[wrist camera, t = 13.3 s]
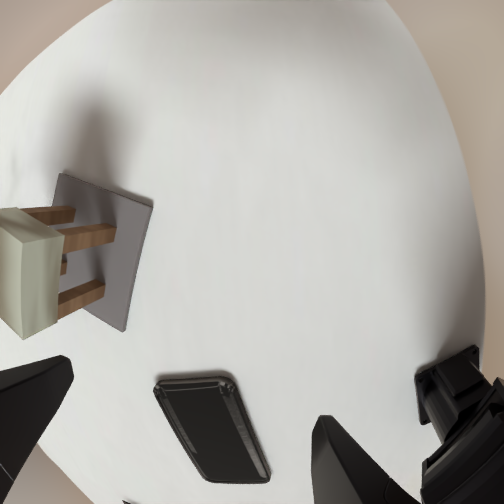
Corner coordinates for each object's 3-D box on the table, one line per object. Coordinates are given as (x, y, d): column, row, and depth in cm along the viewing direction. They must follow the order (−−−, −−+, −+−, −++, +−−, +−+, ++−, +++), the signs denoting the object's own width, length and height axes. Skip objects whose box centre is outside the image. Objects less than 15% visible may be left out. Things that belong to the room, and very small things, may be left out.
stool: (118, 227, 20) (22, 243, 11) (104, 298, 22) (23, 340, 12) (67, 204, 21) (-19, 210, 12) (57, 269, 22) (-20, 294, 13)
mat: (153, 207, 20) (149, 207, 20) (125, 330, 22) (122, 332, 22) (62, 173, 21) (59, 173, 21) (46, 279, 24) (43, 280, 23)
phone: (230, 379, 21) (272, 483, 22) (233, 372, 22) (273, 476, 23) (148, 384, 22) (204, 482, 24) (153, 378, 23) (207, 476, 25)
